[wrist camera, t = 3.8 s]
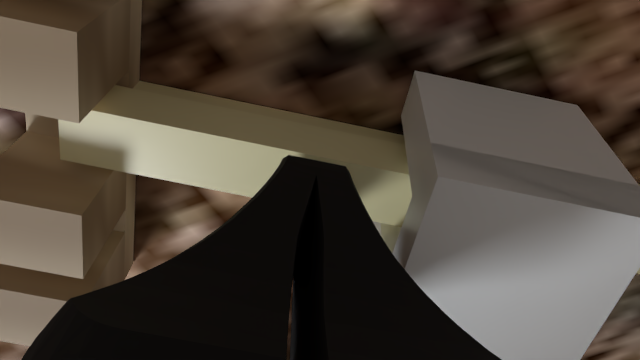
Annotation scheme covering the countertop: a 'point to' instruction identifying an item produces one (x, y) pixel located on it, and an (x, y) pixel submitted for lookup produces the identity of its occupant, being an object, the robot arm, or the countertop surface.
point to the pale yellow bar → (232, 145)
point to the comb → (44, 157)
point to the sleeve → (514, 217)
